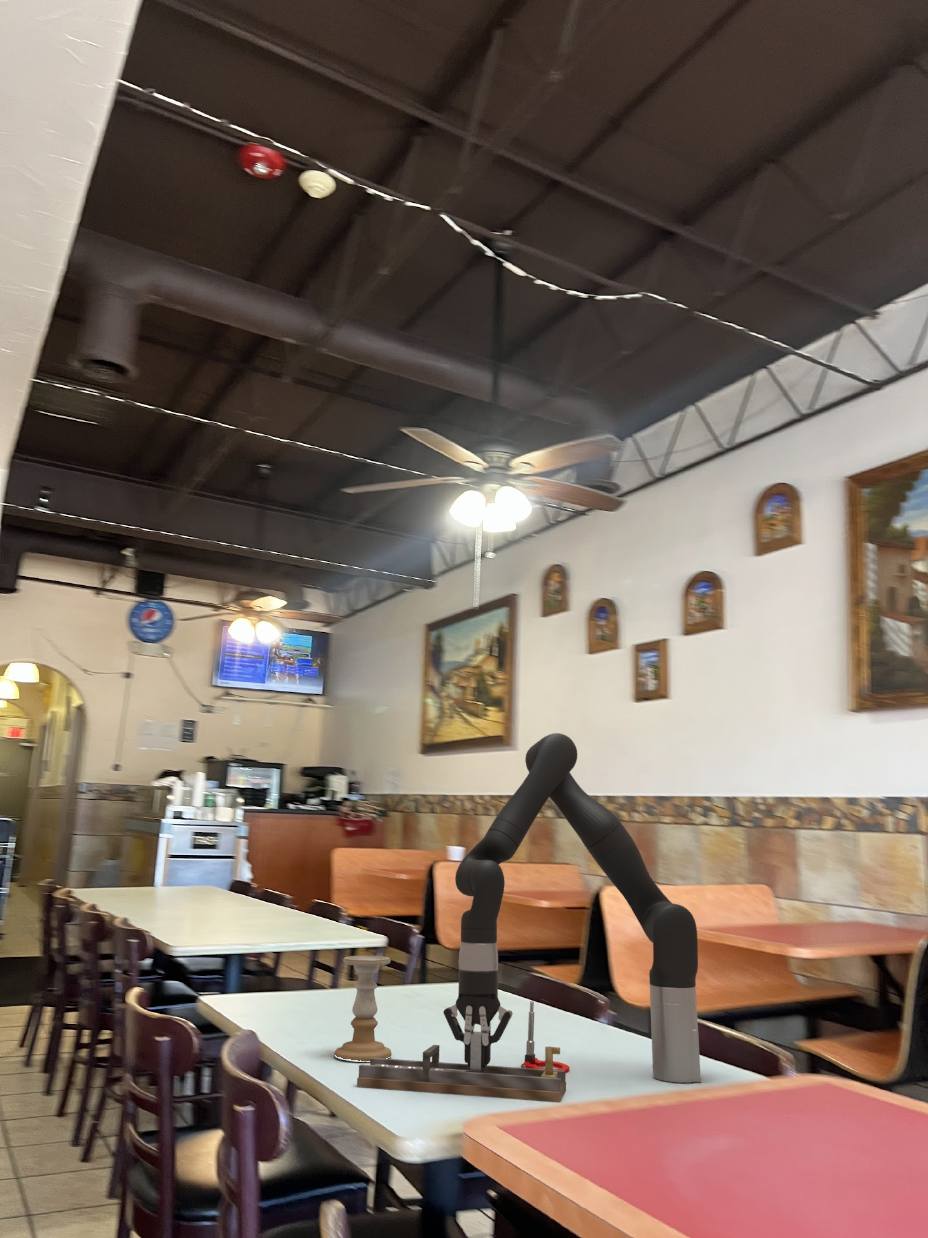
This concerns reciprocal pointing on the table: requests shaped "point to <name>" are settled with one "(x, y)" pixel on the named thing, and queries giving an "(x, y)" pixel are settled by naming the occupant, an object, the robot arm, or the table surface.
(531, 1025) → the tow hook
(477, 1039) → the grey l-shaped slider bar
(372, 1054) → the candle holder
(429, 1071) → the track
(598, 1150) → the table surface
